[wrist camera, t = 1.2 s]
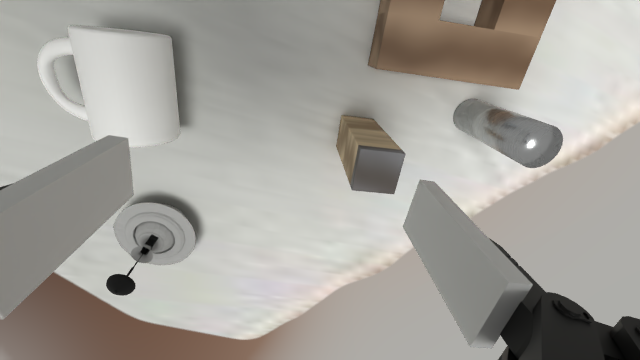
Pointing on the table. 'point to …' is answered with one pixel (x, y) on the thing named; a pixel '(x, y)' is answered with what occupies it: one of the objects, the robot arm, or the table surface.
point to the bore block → (460, 40)
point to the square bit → (369, 155)
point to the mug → (118, 82)
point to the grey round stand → (151, 239)
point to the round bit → (509, 132)
